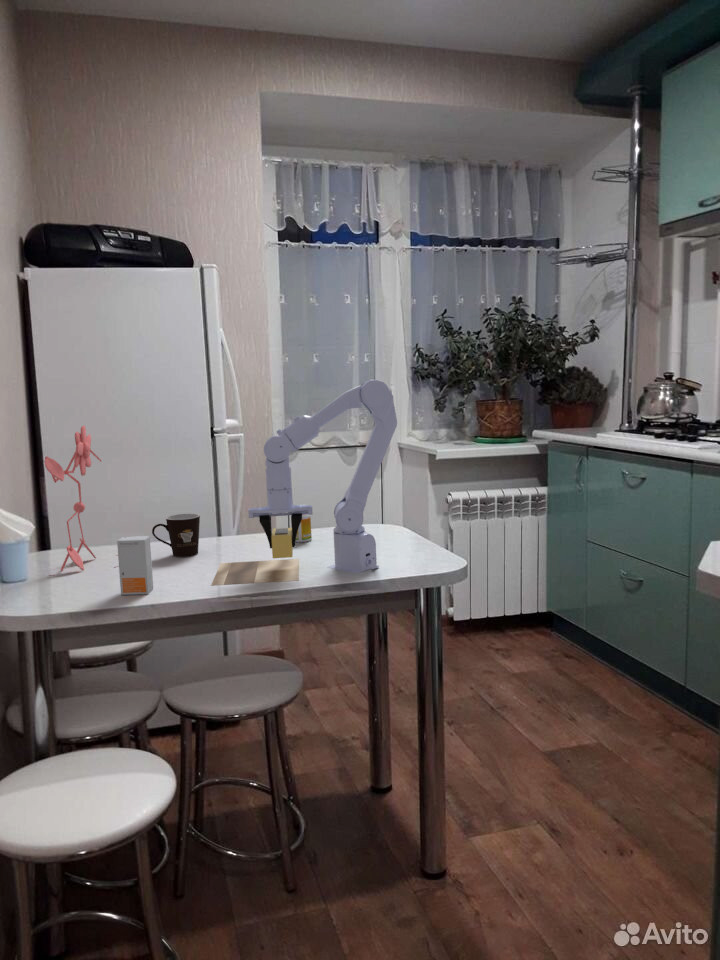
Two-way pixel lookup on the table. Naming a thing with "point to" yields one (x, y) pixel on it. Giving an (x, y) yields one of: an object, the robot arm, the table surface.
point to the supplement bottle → (304, 529)
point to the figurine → (83, 461)
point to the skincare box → (135, 565)
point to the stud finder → (282, 543)
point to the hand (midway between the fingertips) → (282, 546)
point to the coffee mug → (182, 534)
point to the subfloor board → (257, 572)
